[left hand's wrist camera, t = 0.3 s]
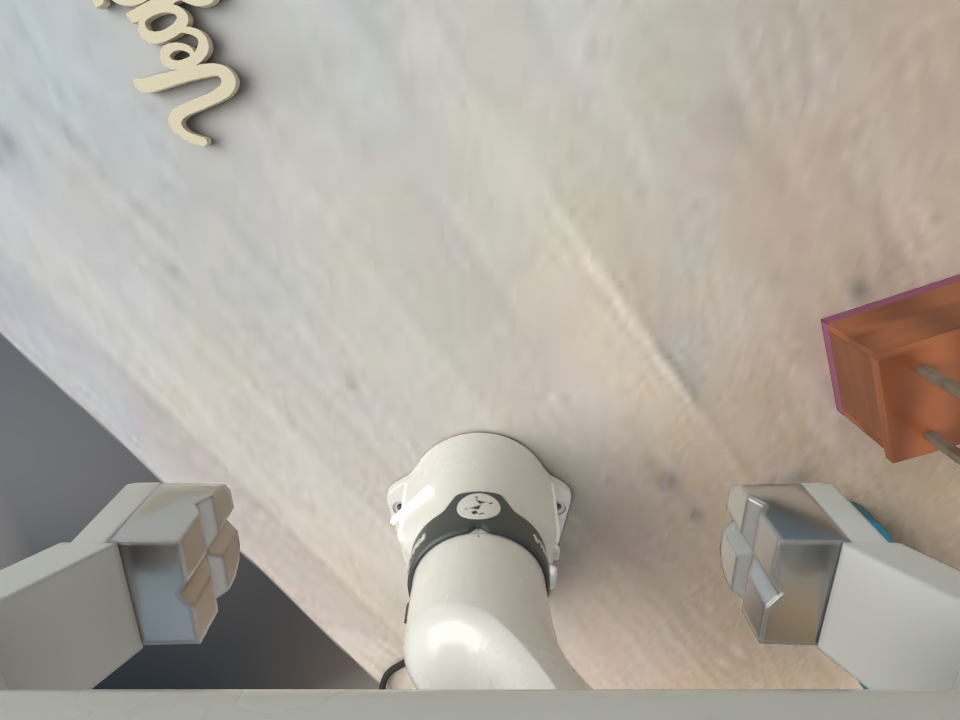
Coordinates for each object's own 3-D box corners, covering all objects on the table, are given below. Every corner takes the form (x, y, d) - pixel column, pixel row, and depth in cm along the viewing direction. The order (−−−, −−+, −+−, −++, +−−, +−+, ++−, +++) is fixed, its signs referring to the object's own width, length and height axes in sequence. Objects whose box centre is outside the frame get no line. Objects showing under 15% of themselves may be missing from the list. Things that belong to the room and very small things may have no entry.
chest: (836, 409, 63) (891, 455, 54) (820, 319, 59) (875, 353, 51) (970, 368, 61) (1047, 409, 53) (961, 273, 58) (1042, 301, 49)
